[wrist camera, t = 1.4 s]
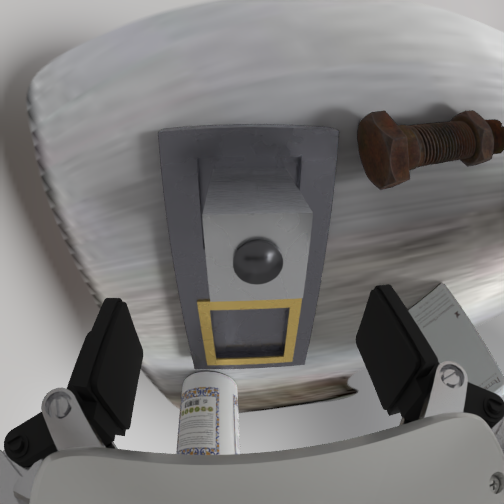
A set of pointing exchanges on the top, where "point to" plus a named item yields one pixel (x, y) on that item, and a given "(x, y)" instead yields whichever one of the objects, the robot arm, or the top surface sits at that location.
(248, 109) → the top surface
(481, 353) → the skincare box
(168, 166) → the grey slotted board
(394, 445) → the robot arm
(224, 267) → the brushed steel block
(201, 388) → the bath foam
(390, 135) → the bolt
